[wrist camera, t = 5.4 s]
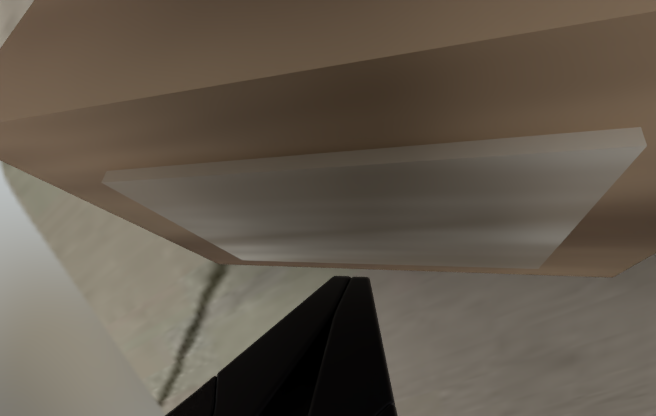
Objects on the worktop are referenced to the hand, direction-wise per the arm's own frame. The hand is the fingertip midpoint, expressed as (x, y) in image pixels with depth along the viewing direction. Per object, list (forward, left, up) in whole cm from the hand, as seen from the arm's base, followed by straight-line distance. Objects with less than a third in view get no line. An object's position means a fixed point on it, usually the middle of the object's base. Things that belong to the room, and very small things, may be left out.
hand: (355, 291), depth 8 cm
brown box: (0, 0, -4) cm, 4 cm away
